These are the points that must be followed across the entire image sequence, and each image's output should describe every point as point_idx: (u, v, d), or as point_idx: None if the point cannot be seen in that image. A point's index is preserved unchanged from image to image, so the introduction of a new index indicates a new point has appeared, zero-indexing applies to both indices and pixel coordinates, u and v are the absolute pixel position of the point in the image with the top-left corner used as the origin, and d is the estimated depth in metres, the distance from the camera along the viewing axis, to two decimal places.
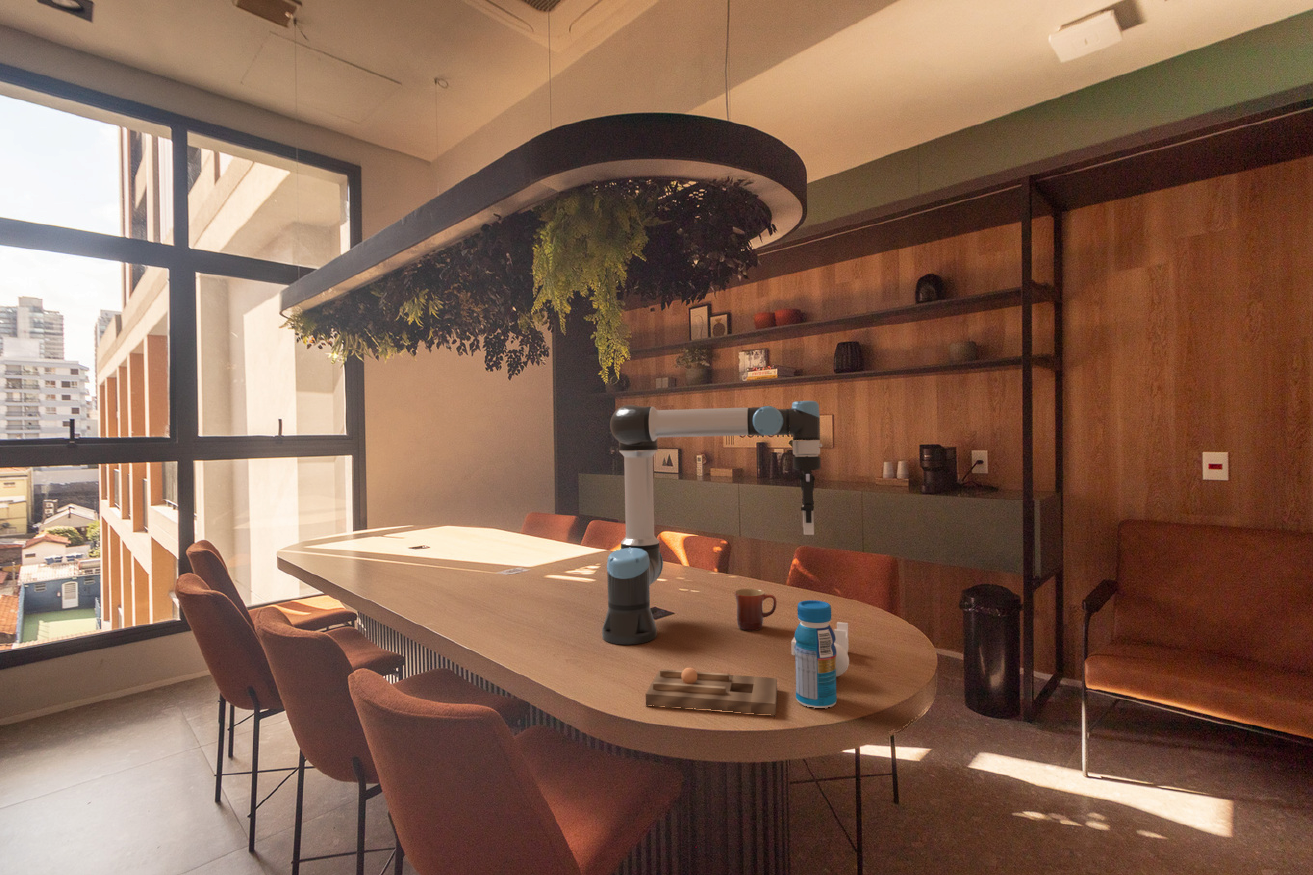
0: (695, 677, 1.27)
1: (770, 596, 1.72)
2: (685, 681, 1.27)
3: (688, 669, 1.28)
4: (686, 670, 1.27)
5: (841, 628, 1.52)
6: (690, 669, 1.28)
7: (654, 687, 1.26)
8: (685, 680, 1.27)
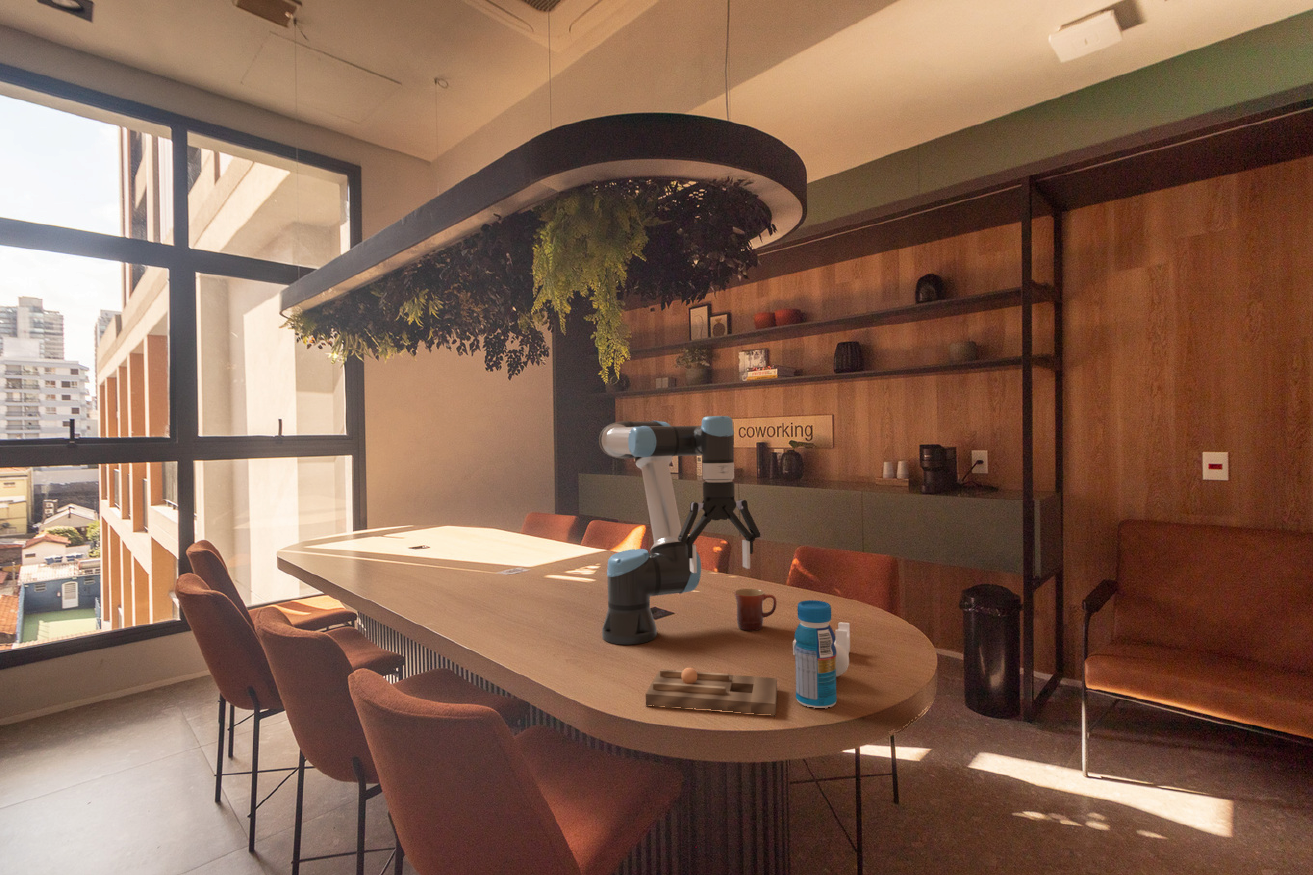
0: (695, 677, 1.27)
1: (770, 596, 1.72)
2: (685, 681, 1.27)
3: (688, 669, 1.28)
4: (686, 670, 1.27)
5: (842, 628, 1.52)
6: (690, 669, 1.28)
7: (654, 687, 1.26)
8: (685, 680, 1.27)
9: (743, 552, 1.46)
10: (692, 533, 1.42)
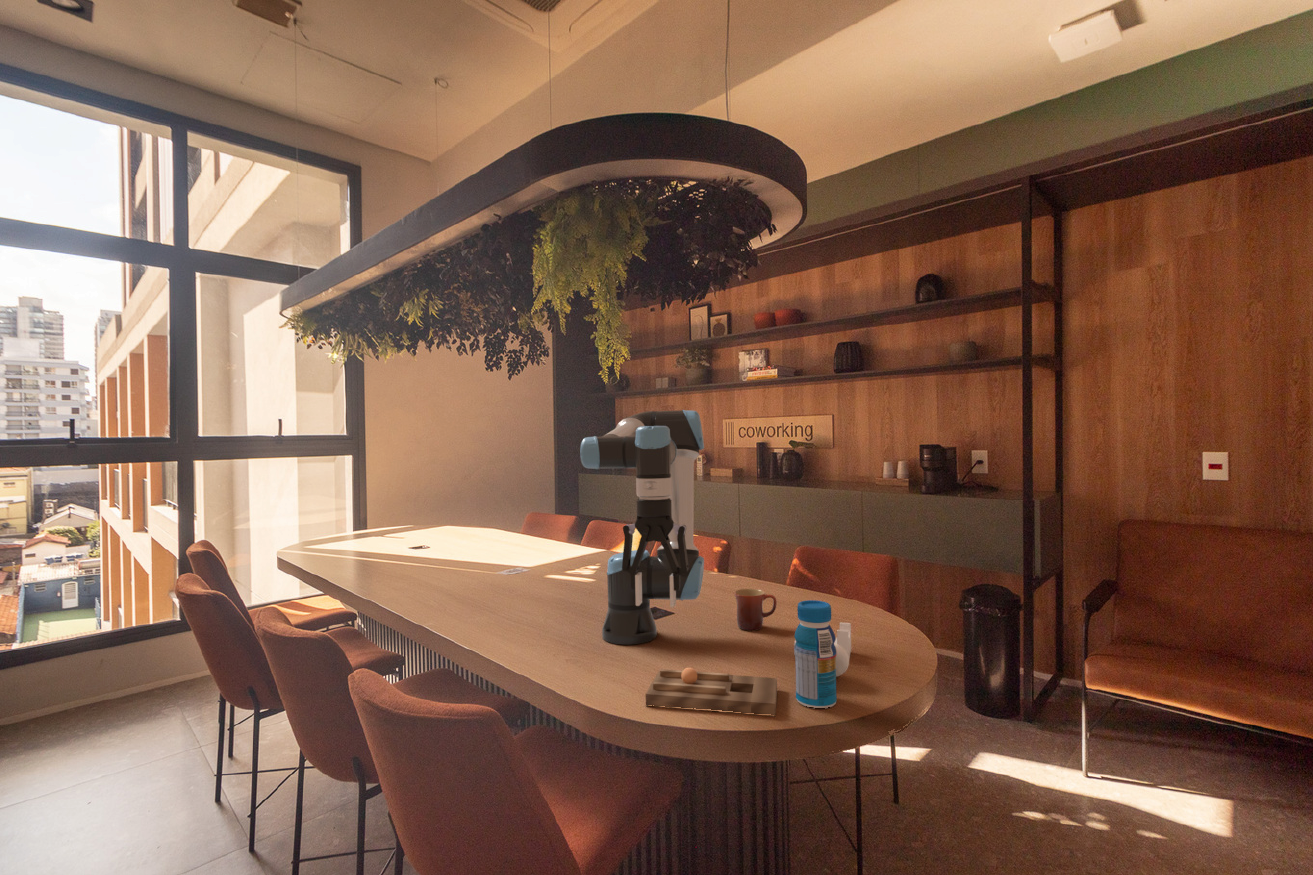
0: (695, 677, 1.27)
1: (770, 596, 1.72)
2: (685, 681, 1.27)
3: (688, 669, 1.28)
4: (686, 670, 1.27)
5: (844, 628, 1.52)
6: (690, 669, 1.28)
7: (654, 687, 1.26)
8: (685, 680, 1.27)
9: None
10: None
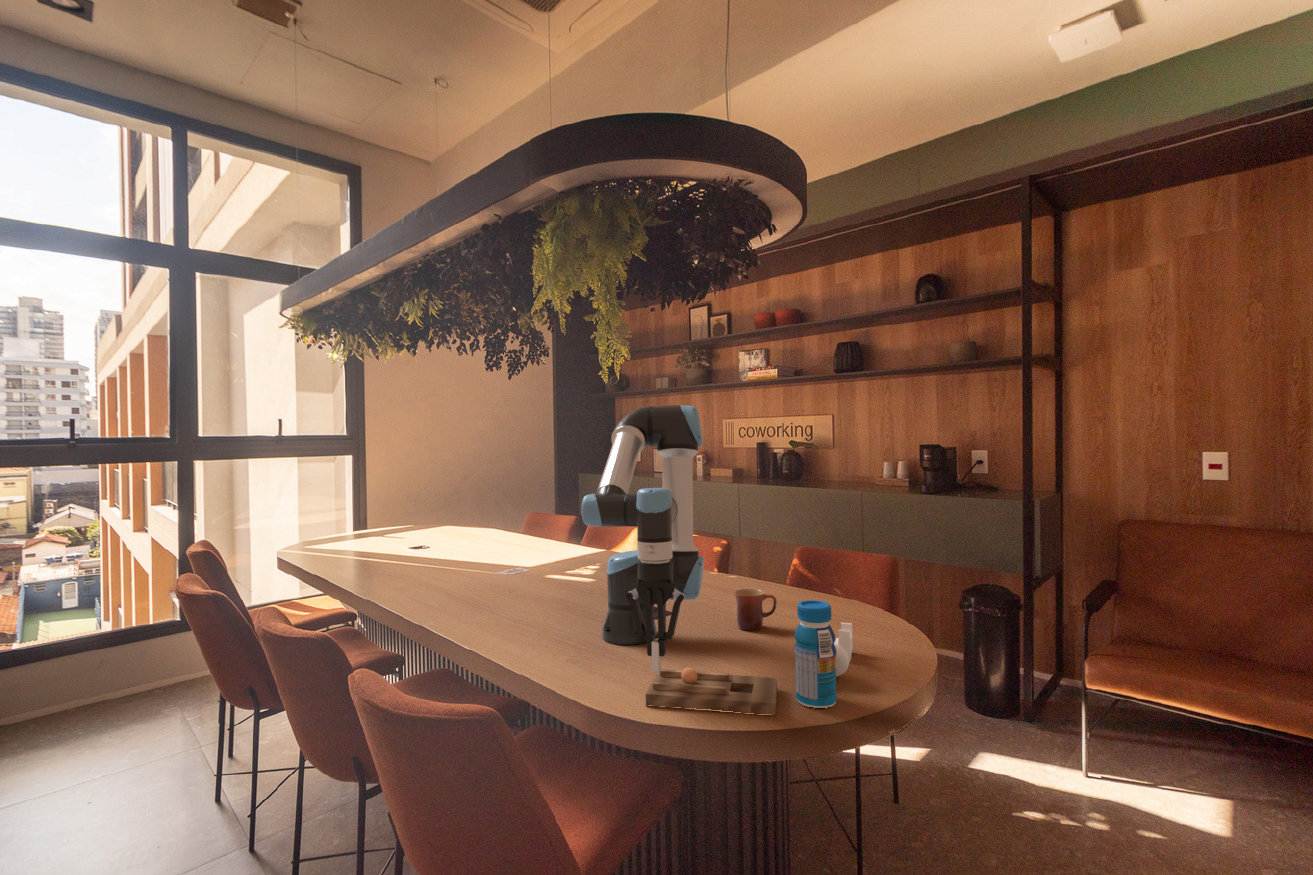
0: (695, 677, 1.27)
1: (770, 596, 1.72)
2: (685, 681, 1.27)
3: (688, 669, 1.28)
4: (686, 670, 1.27)
5: (845, 628, 1.52)
6: (690, 669, 1.28)
7: (654, 687, 1.26)
8: (685, 680, 1.27)
9: None
10: None
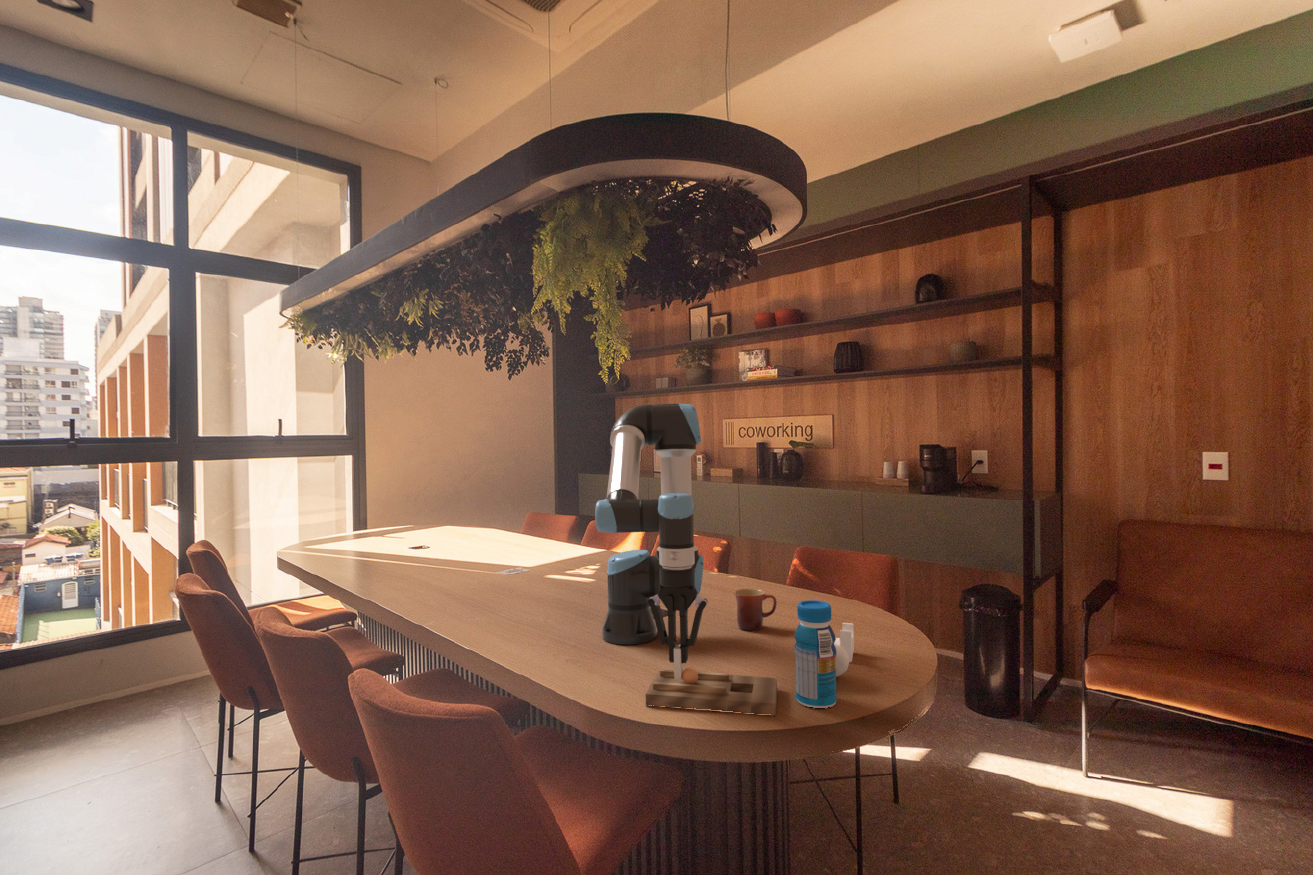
0: (696, 678, 1.27)
1: (770, 596, 1.72)
2: (686, 681, 1.27)
3: (689, 669, 1.28)
4: (687, 670, 1.27)
5: (847, 629, 1.52)
6: (691, 669, 1.28)
7: (654, 687, 1.26)
8: (686, 680, 1.27)
9: None
10: None
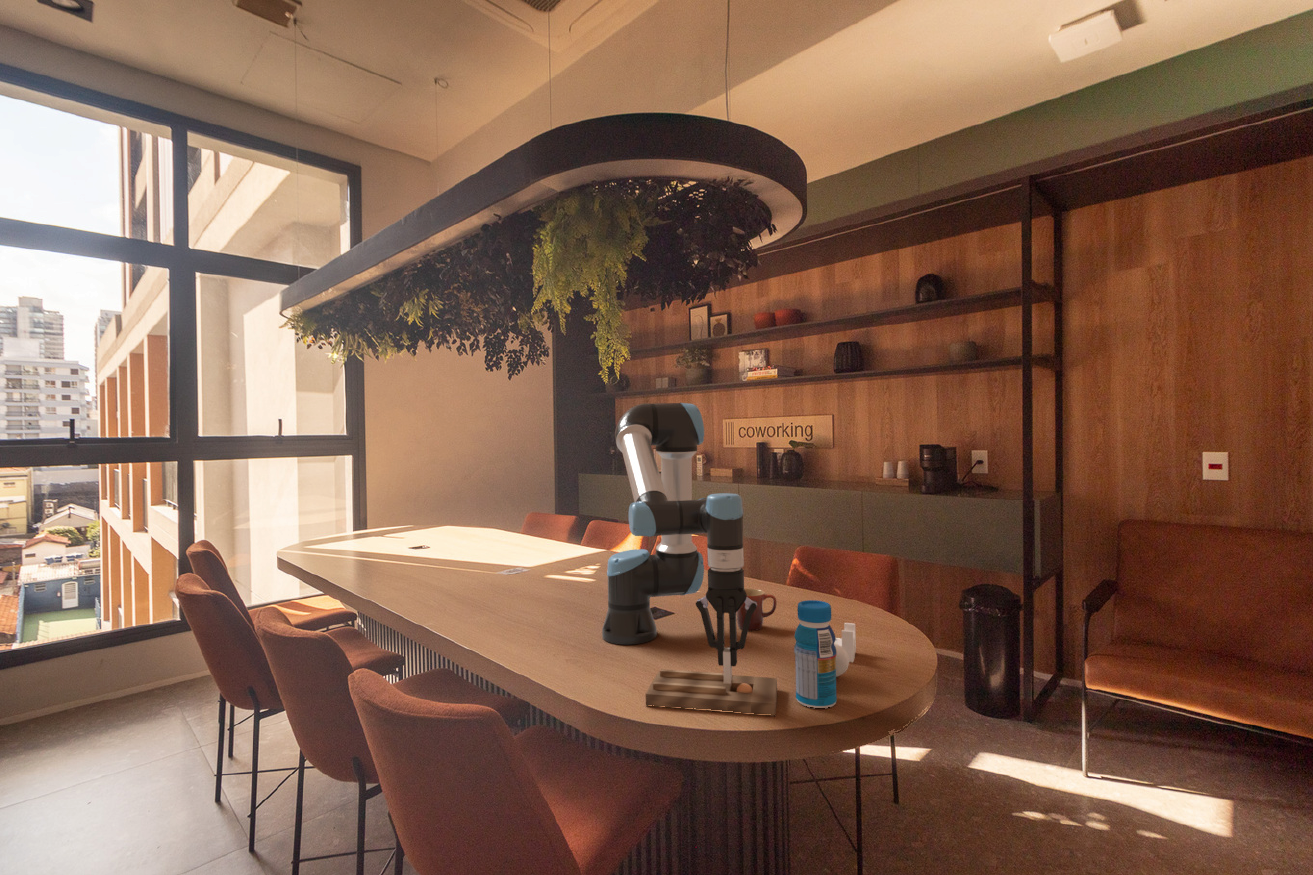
0: None
1: (770, 596, 1.72)
2: None
3: (749, 687, 1.25)
4: (747, 687, 1.25)
5: (848, 629, 1.52)
6: (750, 688, 1.25)
7: (654, 687, 1.26)
8: None
9: None
10: None
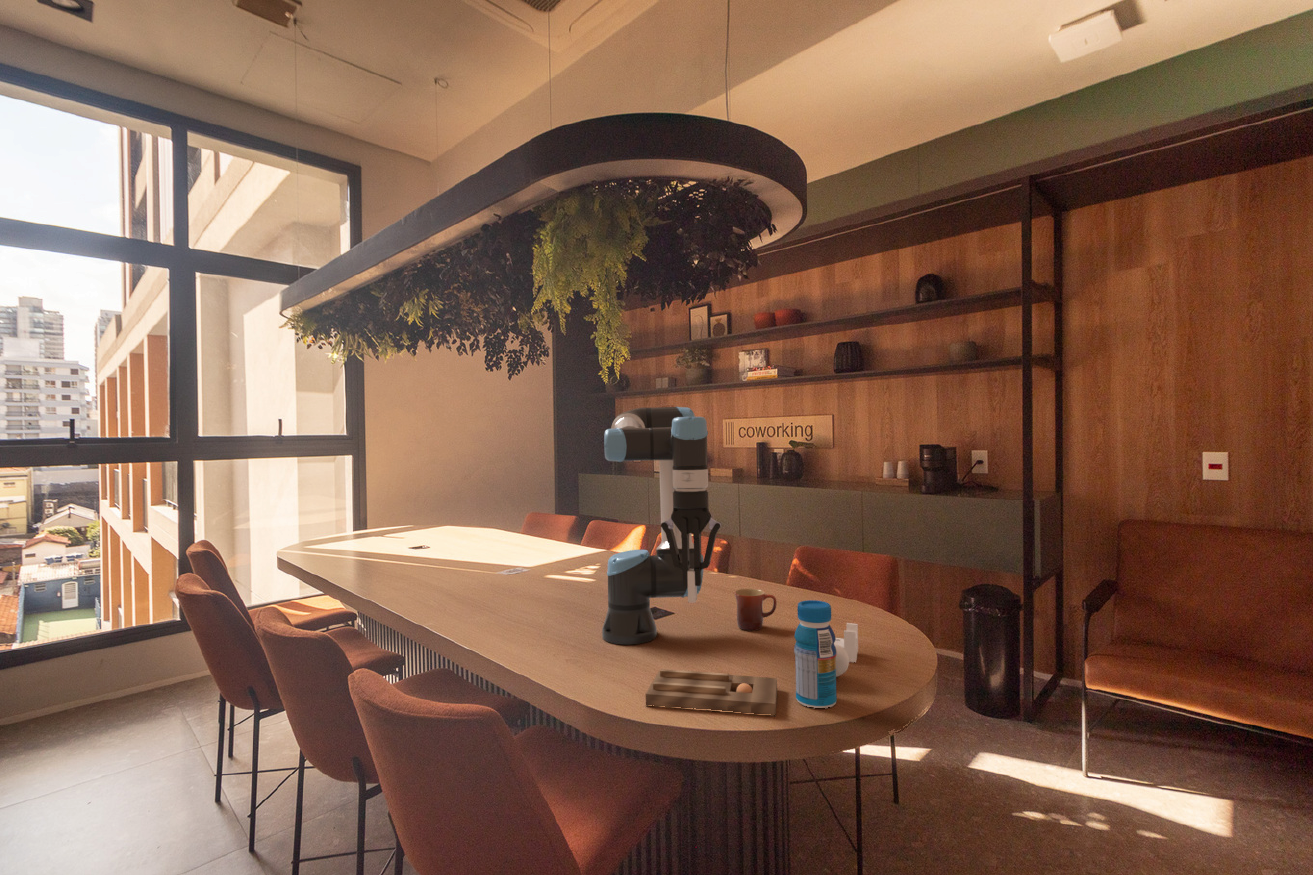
0: None
1: (770, 596, 1.72)
2: None
3: (748, 687, 1.25)
4: (746, 687, 1.25)
5: (851, 629, 1.51)
6: (750, 688, 1.25)
7: (654, 687, 1.26)
8: None
9: None
10: None
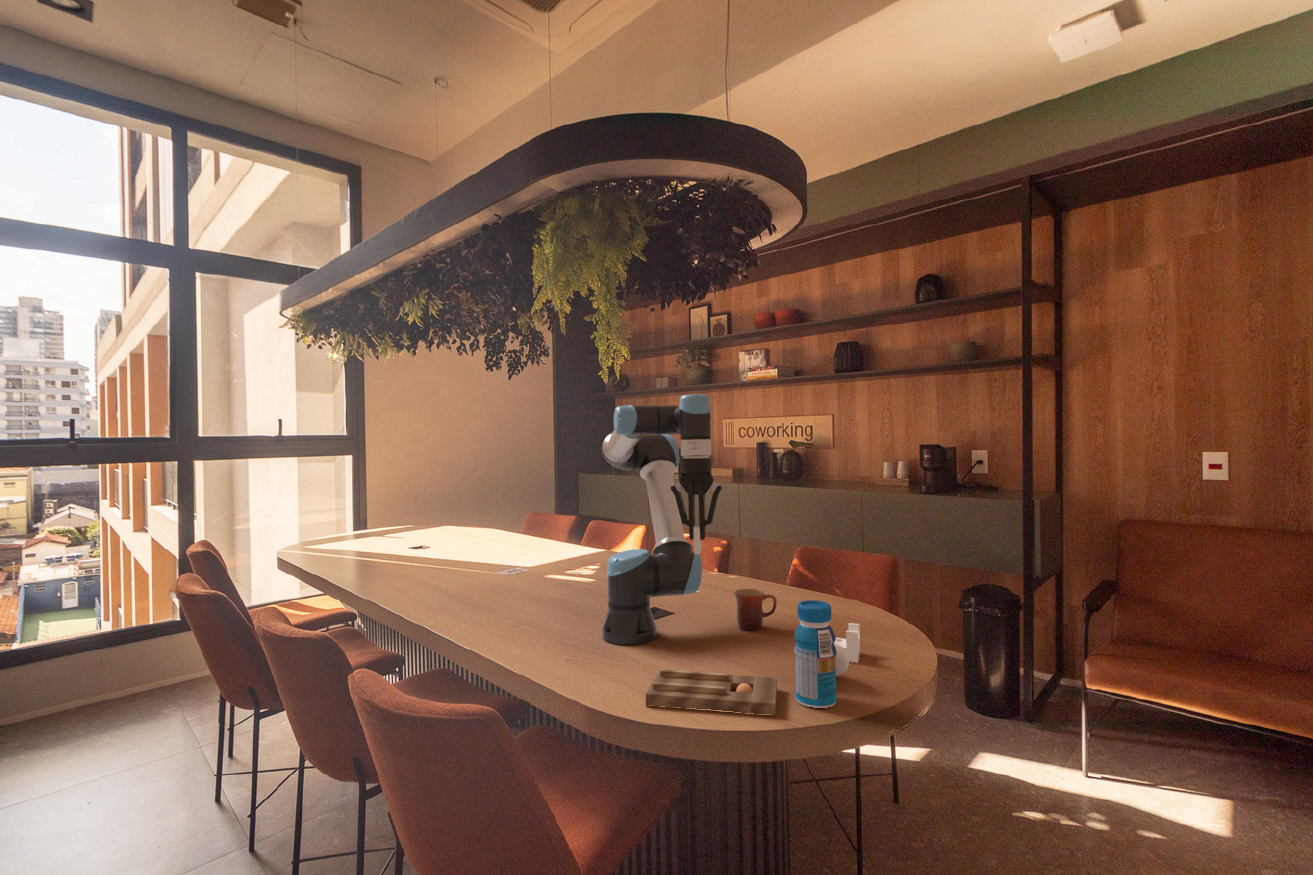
0: None
1: (770, 596, 1.72)
2: None
3: (748, 687, 1.25)
4: (746, 687, 1.25)
5: (853, 629, 1.51)
6: (750, 688, 1.25)
7: (654, 687, 1.26)
8: None
9: None
10: None
